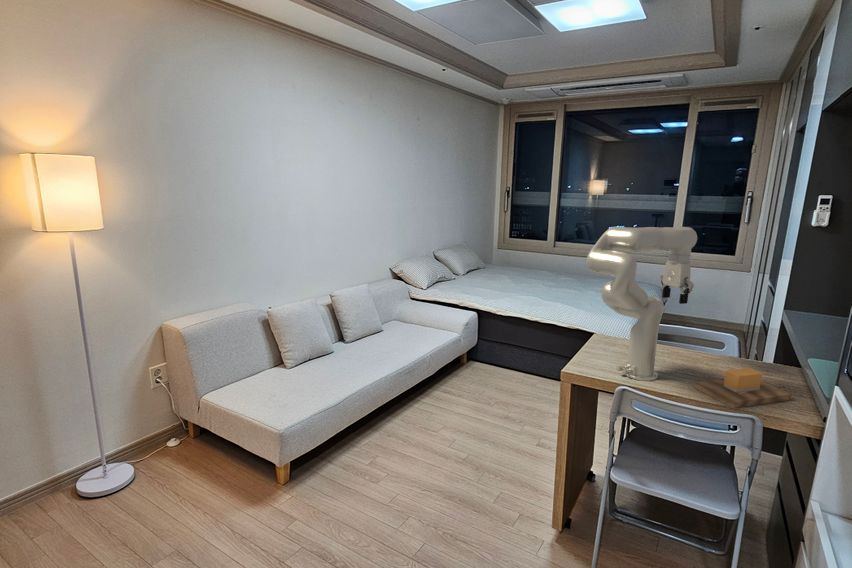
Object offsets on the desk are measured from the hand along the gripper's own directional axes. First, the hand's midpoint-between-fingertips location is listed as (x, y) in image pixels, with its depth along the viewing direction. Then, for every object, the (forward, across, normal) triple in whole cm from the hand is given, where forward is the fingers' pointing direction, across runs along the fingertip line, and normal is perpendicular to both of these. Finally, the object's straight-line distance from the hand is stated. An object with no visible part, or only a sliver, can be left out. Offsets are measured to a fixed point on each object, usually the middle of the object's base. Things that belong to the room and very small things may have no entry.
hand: (674, 300), depth 178 cm
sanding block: (+25, +30, +6) cm, 39 cm away
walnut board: (+27, +30, +6) cm, 40 cm away
